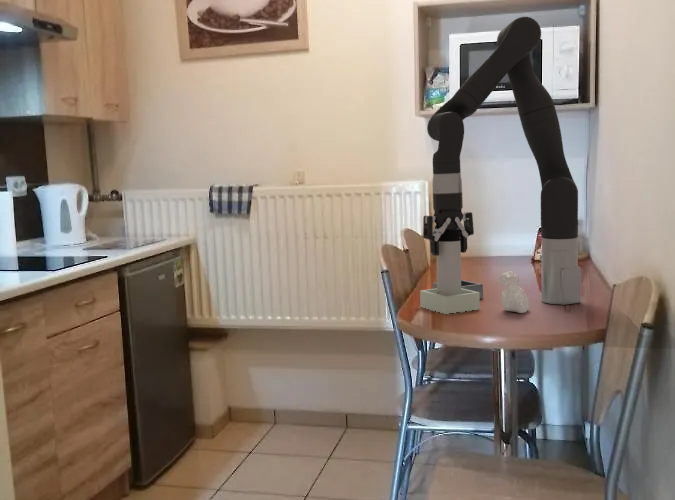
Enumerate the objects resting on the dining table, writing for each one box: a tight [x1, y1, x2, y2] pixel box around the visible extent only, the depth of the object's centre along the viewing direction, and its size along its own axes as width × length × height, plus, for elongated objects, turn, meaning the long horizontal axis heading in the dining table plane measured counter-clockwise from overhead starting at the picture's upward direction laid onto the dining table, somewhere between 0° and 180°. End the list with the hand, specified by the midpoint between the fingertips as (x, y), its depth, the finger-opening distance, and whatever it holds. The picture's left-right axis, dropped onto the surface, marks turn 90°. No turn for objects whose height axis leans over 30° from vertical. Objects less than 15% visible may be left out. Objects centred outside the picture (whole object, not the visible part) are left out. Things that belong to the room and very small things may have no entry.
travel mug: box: [436, 229, 462, 296], centre depth 184 cm, size 6×7×20 cm
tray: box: [419, 288, 481, 315], centre depth 185 cm, size 12×11×4 cm
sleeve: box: [432, 279, 484, 300], centre depth 199 cm, size 11×10×4 cm
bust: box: [498, 270, 530, 314], centre depth 179 cm, size 12×8×11 cm
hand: (449, 253), depth 183 cm, fingers open, 8 cm apart
